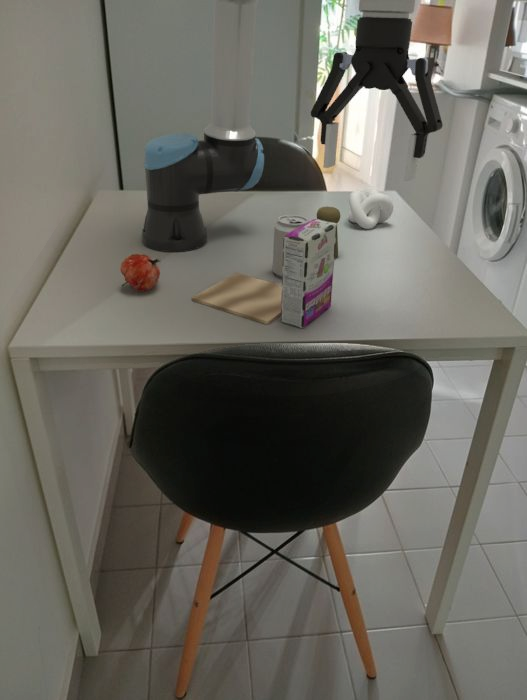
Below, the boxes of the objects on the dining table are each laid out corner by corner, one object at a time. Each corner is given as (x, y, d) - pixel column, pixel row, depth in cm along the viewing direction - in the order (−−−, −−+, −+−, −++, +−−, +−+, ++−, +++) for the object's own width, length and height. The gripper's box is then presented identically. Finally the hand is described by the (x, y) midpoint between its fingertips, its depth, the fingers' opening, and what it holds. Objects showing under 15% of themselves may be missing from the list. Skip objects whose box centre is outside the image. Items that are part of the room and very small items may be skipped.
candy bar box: (307, 300, 117) (313, 217, 109) (331, 307, 114) (339, 222, 106) (278, 322, 108) (282, 234, 100) (302, 330, 106) (309, 240, 98)
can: (283, 283, 124) (286, 226, 118) (266, 270, 129) (268, 215, 123) (314, 277, 127) (319, 221, 121) (296, 265, 132) (299, 211, 126)
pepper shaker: (337, 261, 135) (341, 213, 129) (310, 258, 136) (313, 210, 130) (339, 252, 140) (344, 205, 135) (313, 249, 141) (317, 202, 135)
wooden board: (191, 300, 115) (191, 297, 115) (236, 275, 126) (236, 272, 126) (267, 324, 107) (267, 321, 107) (308, 295, 119) (308, 293, 118)
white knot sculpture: (372, 235, 151) (377, 200, 146) (332, 224, 158) (335, 190, 153) (395, 225, 159) (400, 191, 154) (356, 215, 165) (360, 182, 161)
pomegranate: (121, 305, 117) (157, 282, 113) (100, 273, 116) (136, 248, 112) (141, 295, 124) (176, 272, 119) (122, 264, 123) (156, 240, 118)
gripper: (293, 12, 87) (286, 165, 97) (467, 19, 75) (438, 190, 86) (318, 13, 92) (309, 157, 103) (483, 19, 81) (454, 180, 91)
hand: (368, 172), depth 94 cm, fingers open, 13 cm apart
